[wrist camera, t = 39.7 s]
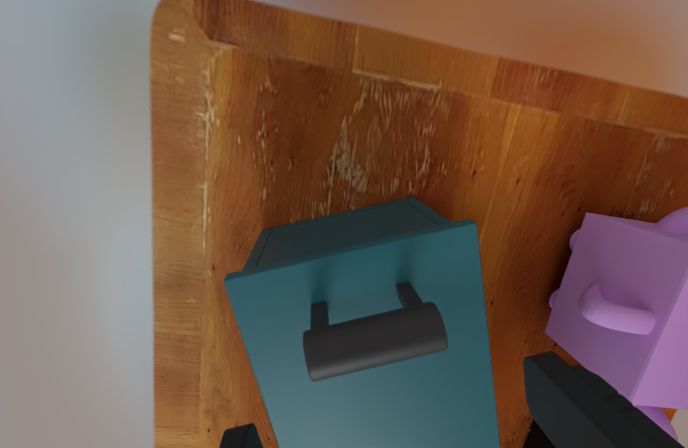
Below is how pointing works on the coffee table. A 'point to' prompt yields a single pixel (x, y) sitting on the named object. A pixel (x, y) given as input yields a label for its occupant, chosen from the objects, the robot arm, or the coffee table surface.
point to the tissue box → (537, 438)
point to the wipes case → (342, 230)
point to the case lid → (373, 343)
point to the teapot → (629, 308)
